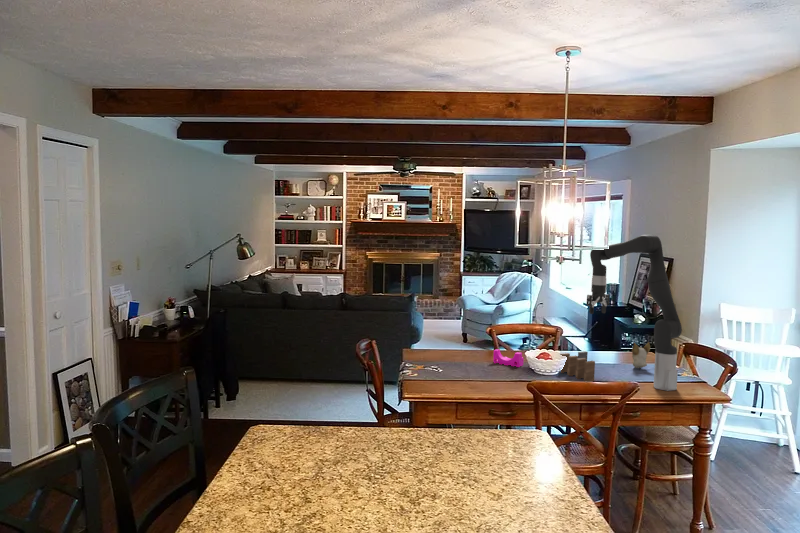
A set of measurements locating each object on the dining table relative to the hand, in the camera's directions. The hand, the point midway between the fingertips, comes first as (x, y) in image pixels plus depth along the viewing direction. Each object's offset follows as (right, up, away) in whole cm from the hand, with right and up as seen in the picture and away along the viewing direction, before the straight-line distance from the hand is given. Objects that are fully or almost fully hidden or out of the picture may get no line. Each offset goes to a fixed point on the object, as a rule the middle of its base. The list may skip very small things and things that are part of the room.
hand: (597, 313), depth 309 cm
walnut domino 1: (-22, -30, -13) cm, 39 cm away
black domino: (-11, -30, -8) cm, 33 cm away
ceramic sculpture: (+21, -30, -2) cm, 37 cm away
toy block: (-48, -29, +2) cm, 56 cm away
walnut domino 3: (-17, -31, -24) cm, 43 cm away
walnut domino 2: (-19, -30, -19) cm, 40 cm away
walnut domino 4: (-14, -31, -30) cm, 45 cm away
